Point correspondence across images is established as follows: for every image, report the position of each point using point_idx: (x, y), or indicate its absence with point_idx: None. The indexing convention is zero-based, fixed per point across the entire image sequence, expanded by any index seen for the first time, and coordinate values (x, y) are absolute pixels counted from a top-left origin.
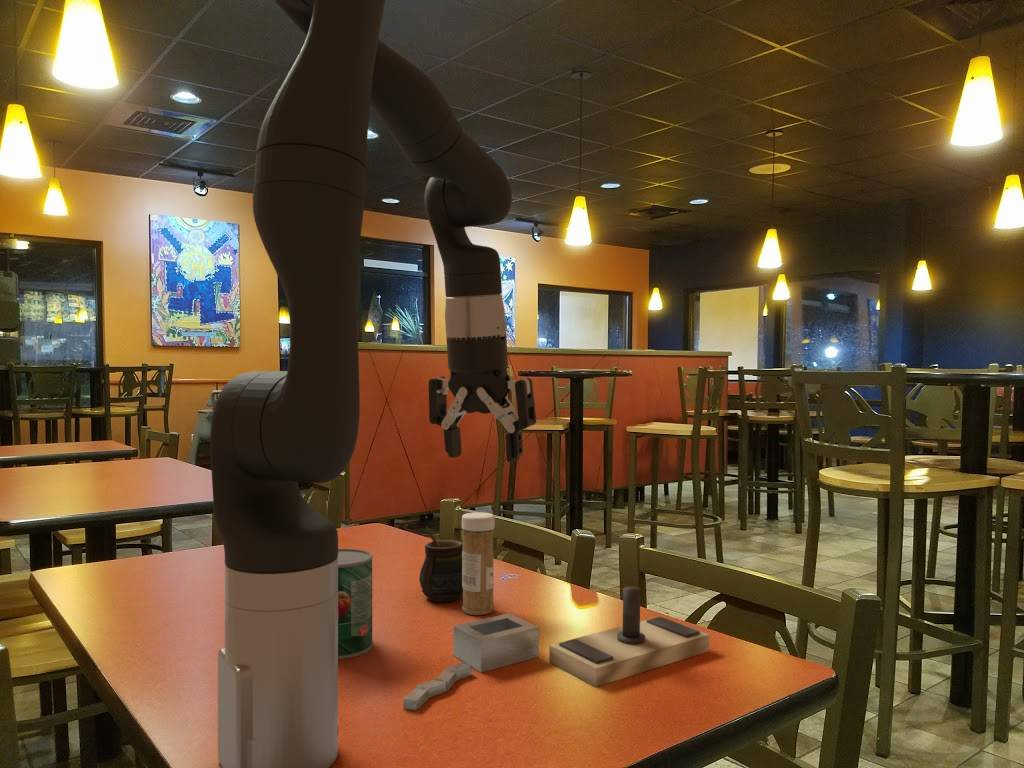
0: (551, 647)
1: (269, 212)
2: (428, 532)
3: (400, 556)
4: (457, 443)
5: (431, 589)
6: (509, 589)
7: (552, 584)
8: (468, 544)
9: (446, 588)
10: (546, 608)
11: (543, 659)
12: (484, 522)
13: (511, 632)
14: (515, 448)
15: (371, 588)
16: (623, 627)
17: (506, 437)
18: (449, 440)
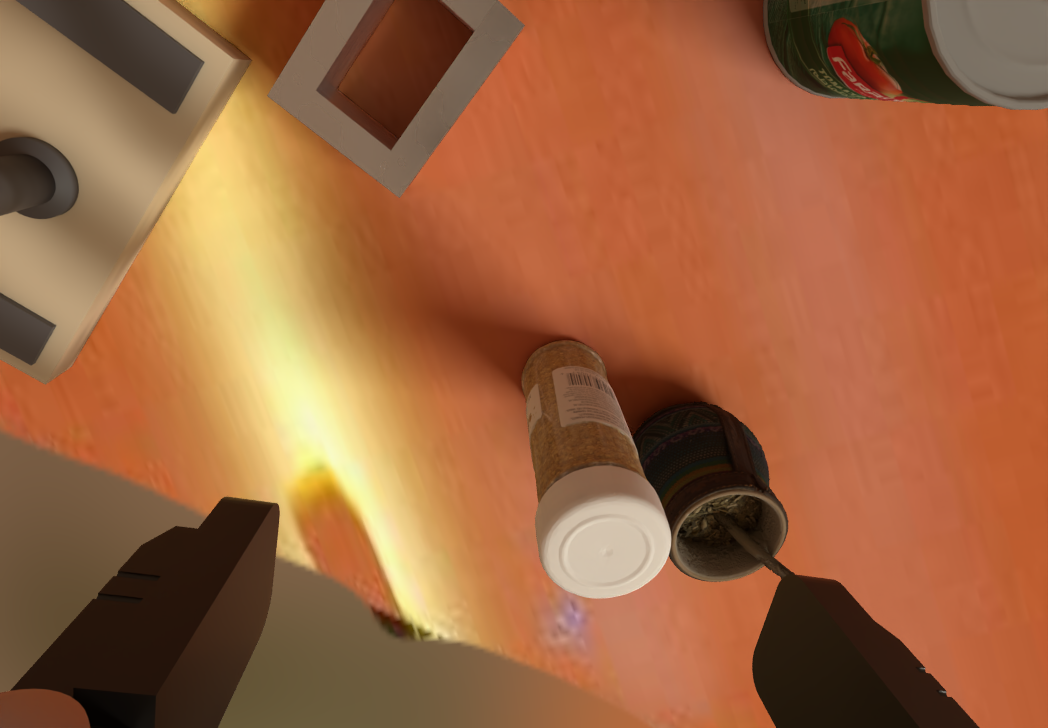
0: (226, 52)
1: None
2: None
3: None
4: (816, 716)
5: (709, 406)
6: (534, 542)
7: (443, 600)
8: (612, 442)
9: (668, 416)
10: (400, 442)
11: None
12: (562, 500)
13: (327, 16)
14: (138, 585)
15: (853, 6)
16: (29, 169)
17: (163, 652)
18: (905, 680)
